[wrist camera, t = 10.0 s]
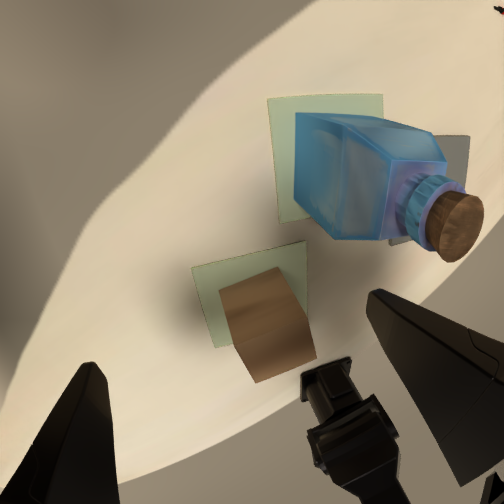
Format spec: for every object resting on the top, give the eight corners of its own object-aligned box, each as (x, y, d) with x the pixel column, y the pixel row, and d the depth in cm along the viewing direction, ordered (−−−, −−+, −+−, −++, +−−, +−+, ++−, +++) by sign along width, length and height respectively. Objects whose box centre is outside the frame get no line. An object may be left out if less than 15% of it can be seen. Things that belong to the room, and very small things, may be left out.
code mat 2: (380, 202, 24) (381, 202, 24) (279, 223, 22) (280, 224, 22) (381, 94, 19) (383, 94, 19) (267, 98, 18) (267, 99, 17)
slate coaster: (455, 224, 28) (457, 226, 27) (388, 244, 26) (391, 246, 26) (467, 135, 22) (470, 136, 22) (396, 136, 21) (399, 137, 21)
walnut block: (290, 308, 27) (317, 358, 22) (238, 330, 27) (255, 383, 22) (277, 266, 24) (306, 316, 19) (218, 290, 24) (233, 345, 19)
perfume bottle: (372, 116, 20) (510, 164, 9) (365, 193, 23) (478, 276, 13) (295, 112, 18) (431, 155, 8) (293, 199, 21) (395, 305, 11)
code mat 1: (306, 321, 28) (307, 323, 28) (214, 347, 27) (214, 348, 27) (305, 240, 24) (306, 241, 24) (191, 268, 22) (191, 269, 22)
